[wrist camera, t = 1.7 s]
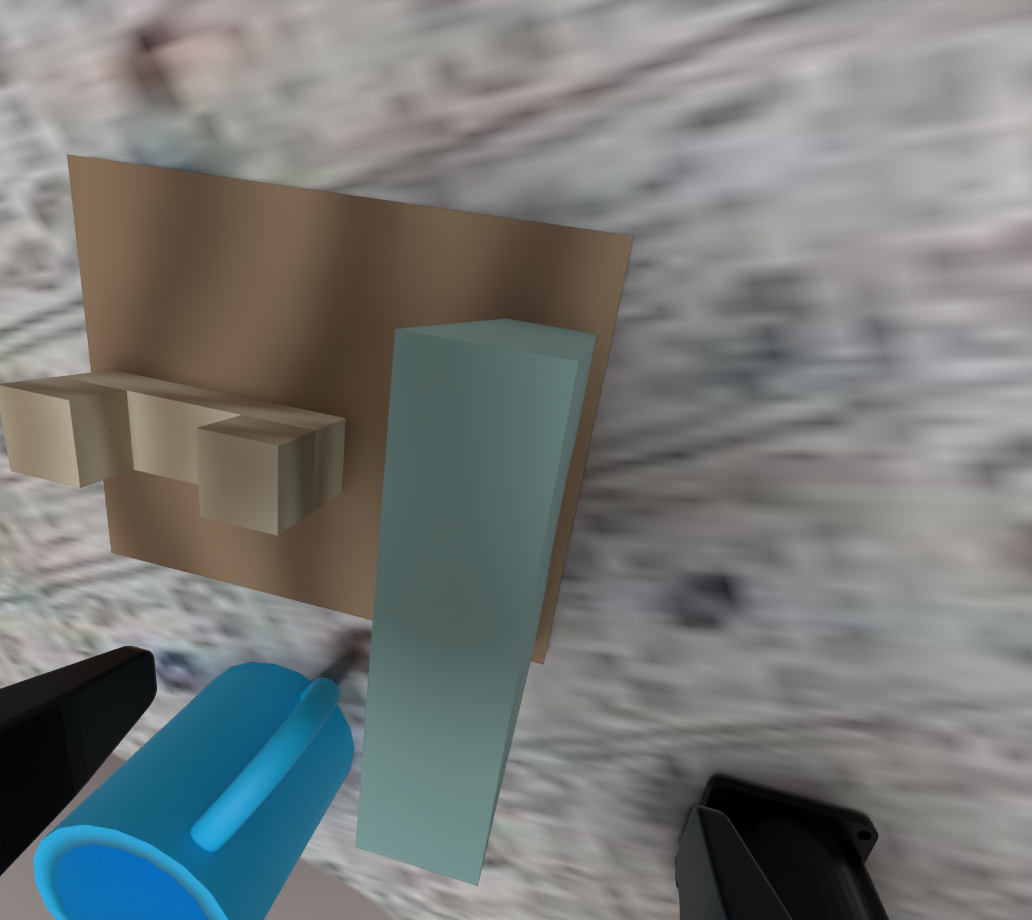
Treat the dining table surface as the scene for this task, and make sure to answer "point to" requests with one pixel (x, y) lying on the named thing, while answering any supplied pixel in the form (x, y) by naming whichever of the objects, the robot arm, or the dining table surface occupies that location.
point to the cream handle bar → (177, 443)
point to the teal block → (461, 576)
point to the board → (309, 342)
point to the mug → (205, 806)
